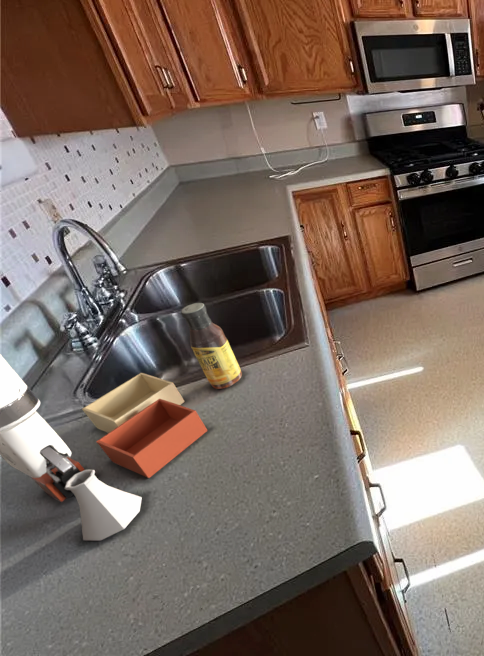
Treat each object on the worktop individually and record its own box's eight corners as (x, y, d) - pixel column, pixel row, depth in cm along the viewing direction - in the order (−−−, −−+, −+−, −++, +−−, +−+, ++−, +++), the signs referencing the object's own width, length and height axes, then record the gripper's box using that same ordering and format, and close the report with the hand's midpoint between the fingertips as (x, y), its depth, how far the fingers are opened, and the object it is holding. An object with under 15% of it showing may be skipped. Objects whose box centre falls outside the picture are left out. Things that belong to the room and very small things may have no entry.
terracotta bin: (112, 462, 76) (95, 441, 74) (172, 418, 85) (159, 398, 82) (148, 478, 72) (132, 457, 70) (207, 430, 81) (195, 410, 78)
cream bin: (97, 428, 84) (81, 408, 81) (153, 391, 93) (141, 372, 90) (129, 441, 80) (114, 421, 78) (184, 401, 89) (173, 382, 86)
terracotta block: (47, 494, 71) (30, 477, 69) (78, 471, 75) (64, 455, 73) (61, 502, 70) (45, 485, 67) (92, 478, 73) (78, 462, 71)
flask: (73, 549, 62) (32, 508, 58) (101, 505, 68) (66, 465, 64) (128, 533, 64) (92, 493, 59) (151, 491, 70) (120, 452, 65)
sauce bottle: (205, 389, 92) (163, 315, 83) (228, 370, 97) (191, 298, 88) (229, 392, 90) (188, 317, 81) (251, 373, 96) (215, 300, 86)
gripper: (-60, 415, 63) (16, 490, 72) (-6, 443, 57) (70, 521, 66) (6, 382, 69) (69, 455, 78) (61, 404, 64) (123, 480, 72)
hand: (69, 485), depth 72 cm, fingers closed on terracotta block, 4 cm apart
